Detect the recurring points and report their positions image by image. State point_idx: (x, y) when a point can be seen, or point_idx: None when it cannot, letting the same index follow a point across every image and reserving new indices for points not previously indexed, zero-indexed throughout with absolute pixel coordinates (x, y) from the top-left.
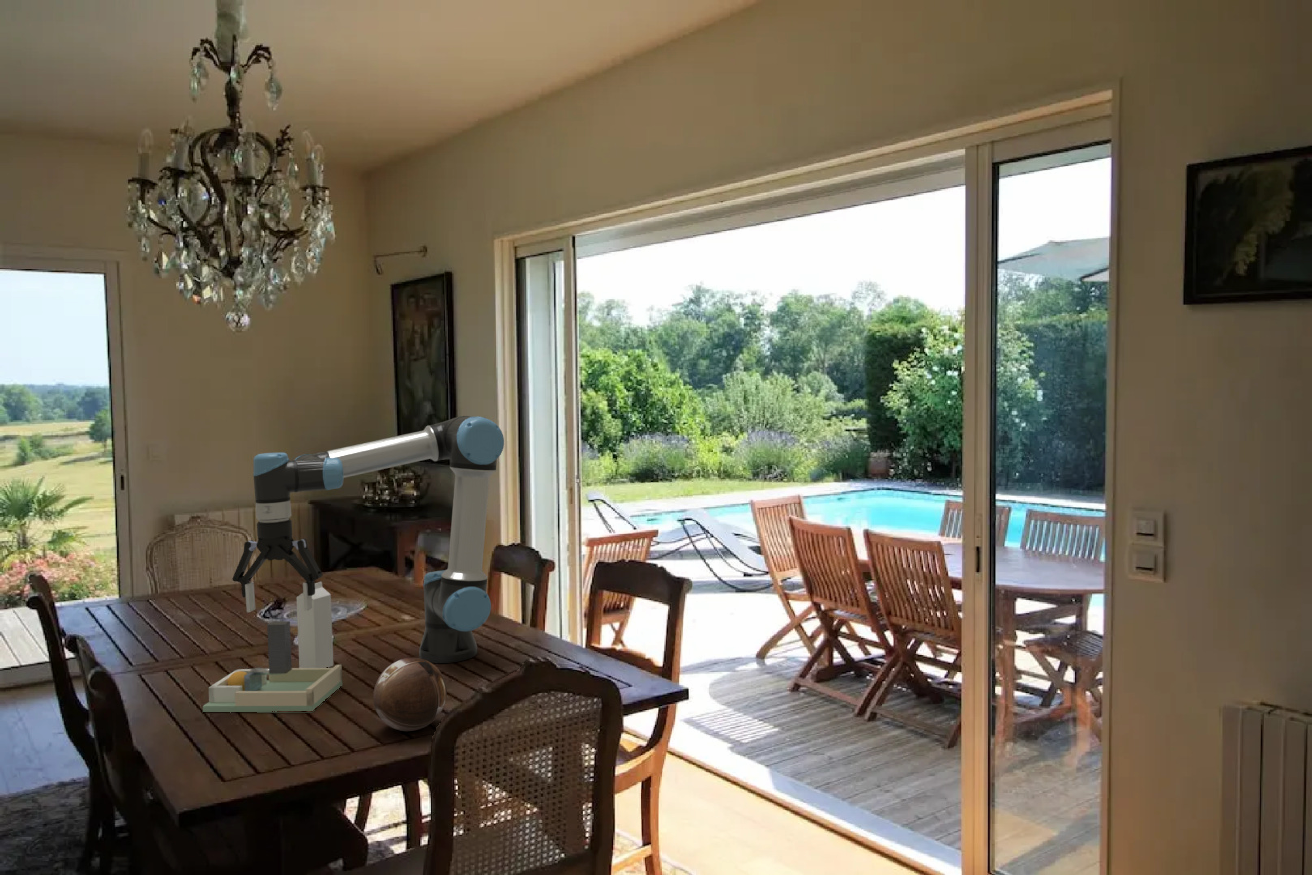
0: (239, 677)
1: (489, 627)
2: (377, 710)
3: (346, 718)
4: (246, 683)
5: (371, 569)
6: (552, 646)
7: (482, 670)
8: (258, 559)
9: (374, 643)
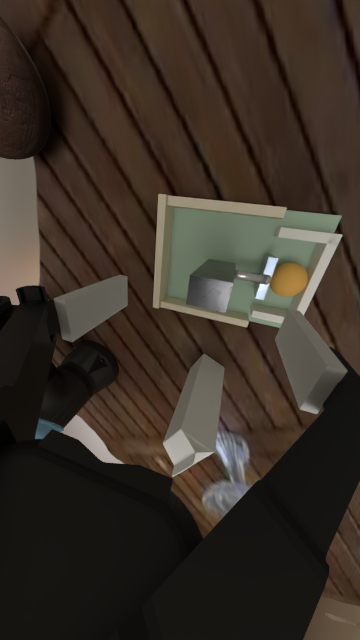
0: (287, 270)
1: (92, 416)
2: (18, 39)
3: (122, 167)
4: (272, 256)
5: None
6: None
7: None
8: (287, 535)
9: (169, 414)
